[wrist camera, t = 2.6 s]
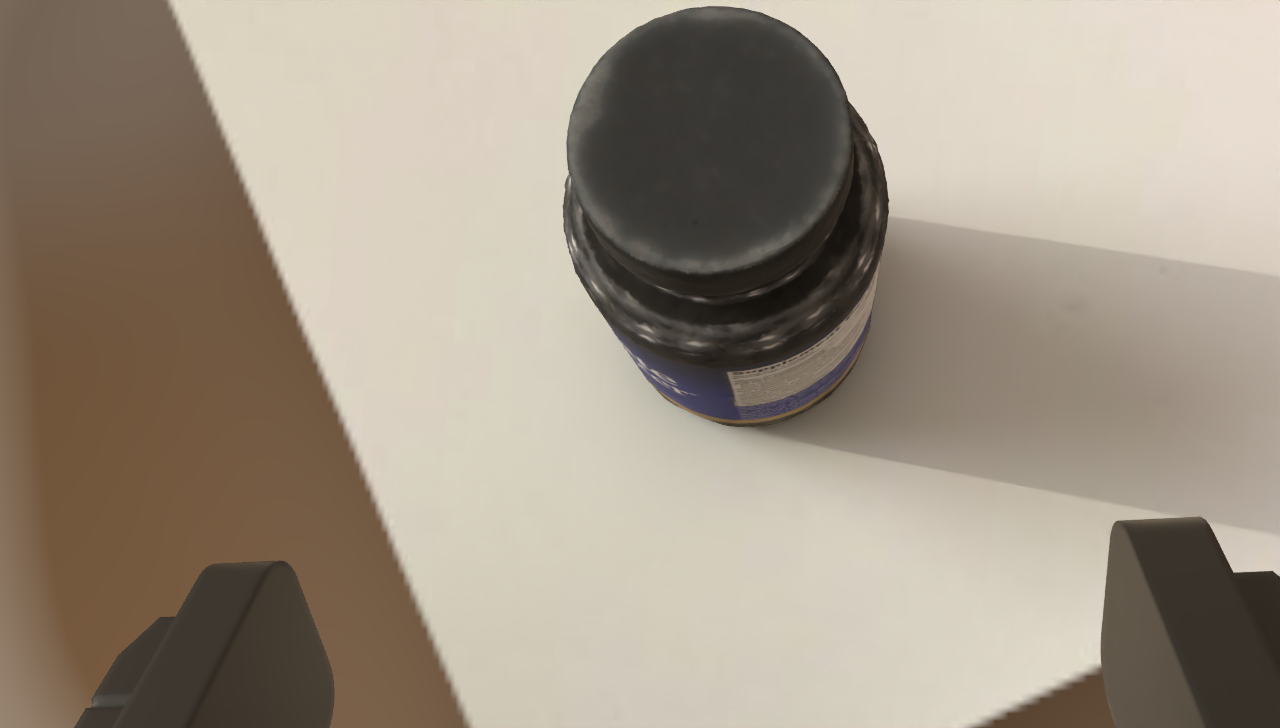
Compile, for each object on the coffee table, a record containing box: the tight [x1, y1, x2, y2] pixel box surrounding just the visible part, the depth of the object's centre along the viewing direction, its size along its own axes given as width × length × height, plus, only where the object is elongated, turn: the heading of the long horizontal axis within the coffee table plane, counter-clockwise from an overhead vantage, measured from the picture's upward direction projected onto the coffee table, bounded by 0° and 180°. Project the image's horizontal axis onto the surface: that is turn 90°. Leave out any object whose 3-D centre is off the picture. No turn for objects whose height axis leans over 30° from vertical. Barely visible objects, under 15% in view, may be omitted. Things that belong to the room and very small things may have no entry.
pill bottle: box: [563, 6, 889, 427], centre depth 24 cm, size 6×6×11 cm
